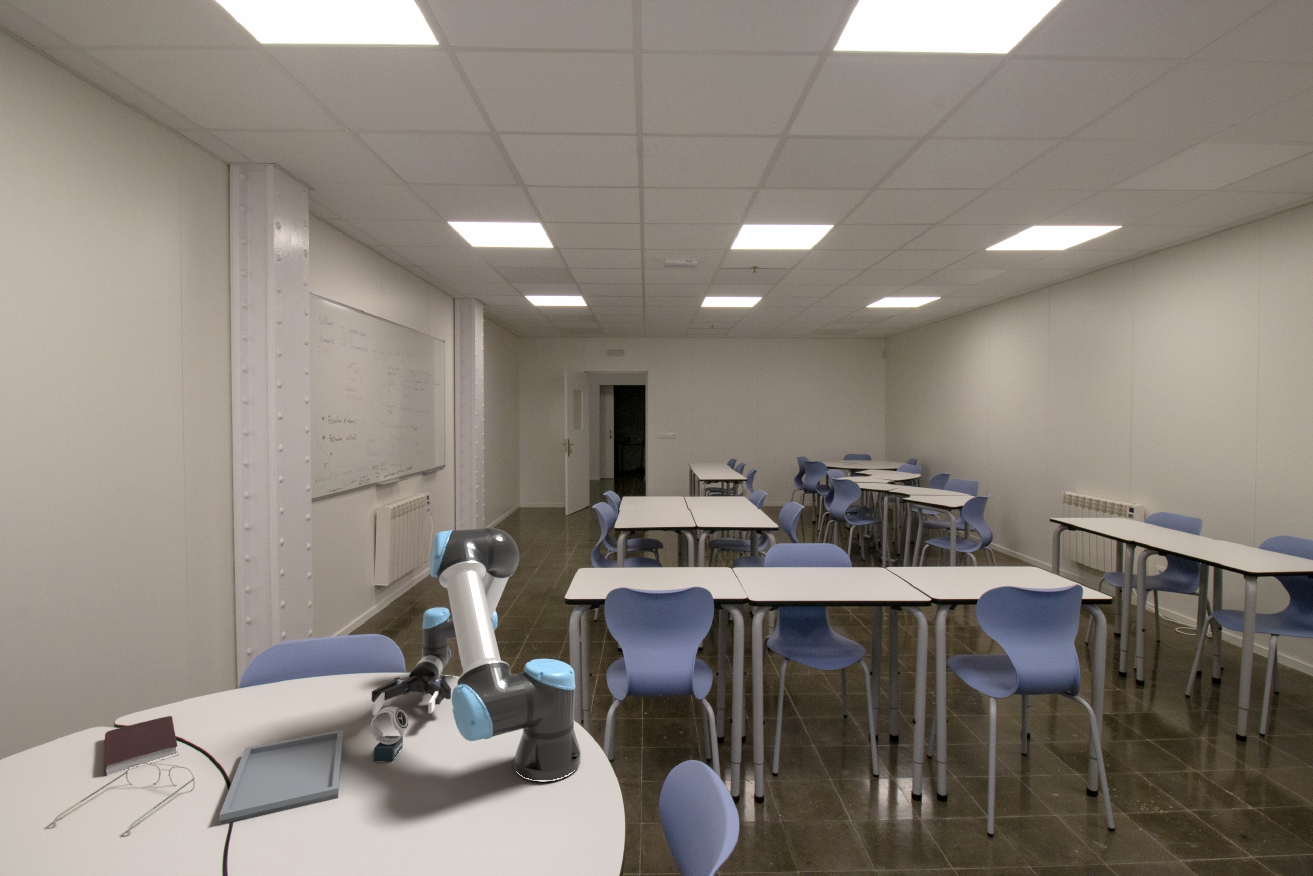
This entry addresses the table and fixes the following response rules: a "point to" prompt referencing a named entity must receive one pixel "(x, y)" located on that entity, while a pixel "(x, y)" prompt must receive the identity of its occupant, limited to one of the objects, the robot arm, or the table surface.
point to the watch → (389, 744)
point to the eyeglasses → (131, 783)
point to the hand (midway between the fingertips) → (402, 709)
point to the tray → (284, 776)
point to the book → (139, 744)
